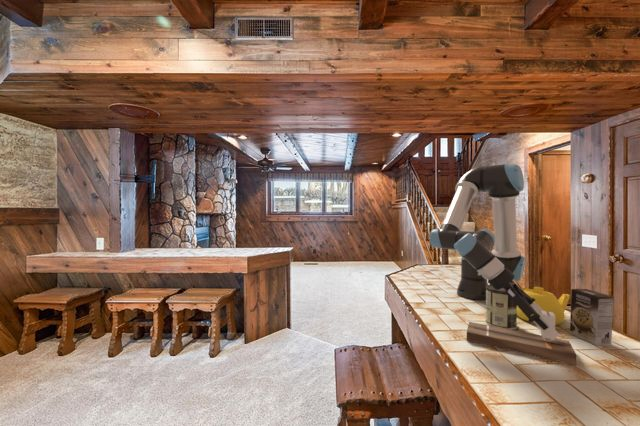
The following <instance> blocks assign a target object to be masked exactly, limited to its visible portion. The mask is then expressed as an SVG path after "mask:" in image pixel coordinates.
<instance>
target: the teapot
mask: <svg viewBox="0 0 640 426" xmlns="http://www.w3.org/2000/svg"><path fill="white" fill-rule="evenodd" d="M521 289H522V290H523V291H524V292H525V293H526V294H527V295H529V296H530V297H531V298H534V299H535V301H534V302H535V303H536V304H537V305H538V306H539V307H540V308H541V309H542V310H543V311H548V312H553V313H554V315H555V326H558V325H560V324H562V323H563V322H564V321H565V318H566V317H565V310H566V308H567V306H568V303H569V300H570V299H571V294H568V293H562V295H561V296H560V297H559V298H557V297H556V296H555V294H554V293H552V292H550V291H546V290H545V288H544V287H541V286H533V288H528V287H525V288H521ZM534 302H533V303H534ZM532 315H534V314H532ZM532 315H531V316H532ZM517 318H519V319H522V320H523V321H526V322H528V323H530V322H529V321H528V320H529V318H528V317H527V316H526V315H525V314H524V313H523V312H522V311H521V309H520V308H519V307H518V306H517ZM531 323H532V324H535V323H534V322H531Z"/></svg>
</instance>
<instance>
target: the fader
mask: <svg viewBox="0 0 640 426" xmlns="http://www.w3.org/2000/svg"><path fill="white" fill-rule="evenodd" d="M541 316H542V317H543V318H544V319H545V320H546V321H547V322H548V323H549V324H550V325H551V326H552V327H553V328H554V329H555V330H556V325H555V315H554V313H553V312H548V311H541ZM540 334H541V336H542V337H543V338H545V341H547V342H550V338H549V337H548V336H547V335H546V334H545V333H544V332H543V331H542V330H541V329H540ZM554 340H555V339H554Z"/></svg>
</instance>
